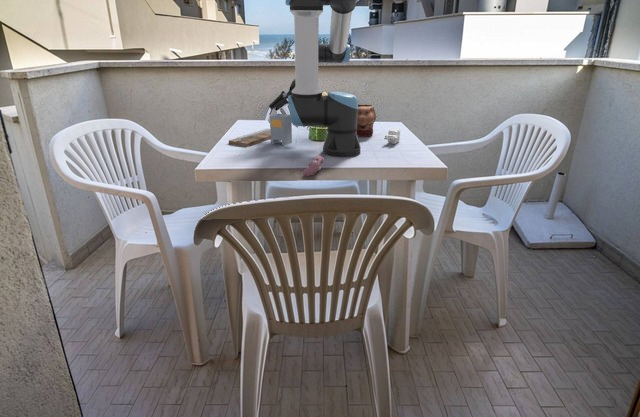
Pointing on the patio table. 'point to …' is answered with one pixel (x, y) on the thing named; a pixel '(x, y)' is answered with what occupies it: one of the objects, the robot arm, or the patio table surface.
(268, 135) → the board
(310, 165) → the pink mottled elongated lump
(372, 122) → the decorative planter
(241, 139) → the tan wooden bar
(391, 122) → the patio table surface
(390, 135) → the power adapter
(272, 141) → the module
